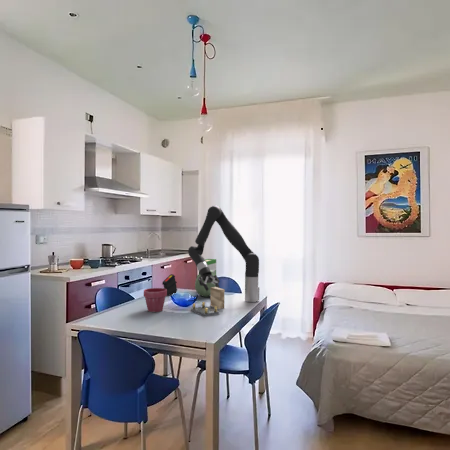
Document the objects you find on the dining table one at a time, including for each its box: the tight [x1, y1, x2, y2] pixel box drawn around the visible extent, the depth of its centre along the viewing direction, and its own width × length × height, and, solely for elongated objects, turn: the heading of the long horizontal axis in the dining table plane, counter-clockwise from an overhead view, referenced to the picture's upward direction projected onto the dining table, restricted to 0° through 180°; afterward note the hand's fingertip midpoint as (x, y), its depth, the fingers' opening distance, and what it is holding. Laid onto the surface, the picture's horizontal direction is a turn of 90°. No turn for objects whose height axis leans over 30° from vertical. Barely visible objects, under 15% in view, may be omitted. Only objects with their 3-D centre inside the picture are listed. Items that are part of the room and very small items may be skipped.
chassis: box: [190, 301, 220, 317], centre depth 220 cm, size 10×16×4 cm, turn 36°
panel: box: [209, 287, 226, 310], centre depth 234 cm, size 4×10×12 cm, turn 36°
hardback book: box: [198, 258, 217, 275], centre depth 292 cm, size 18×7×24 cm, turn 158°
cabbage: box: [194, 270, 217, 298], centre depth 266 cm, size 16×19×20 cm
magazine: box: [161, 274, 178, 297], centre depth 270 cm, size 4×13×15 cm, turn 149°
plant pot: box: [143, 287, 168, 313], centre depth 223 cm, size 14×14×13 cm
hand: (213, 289), depth 238 cm, fingers open, 8 cm apart
